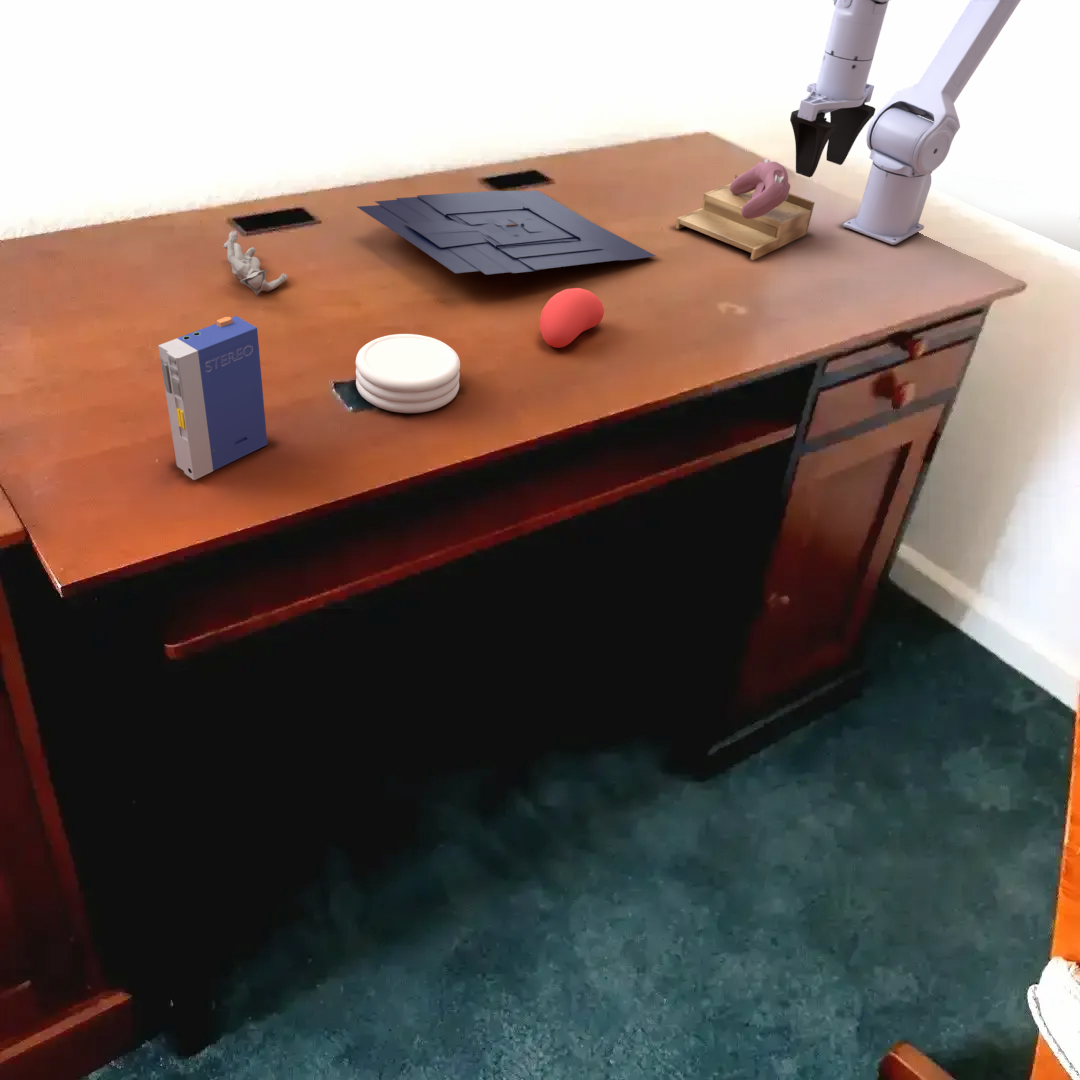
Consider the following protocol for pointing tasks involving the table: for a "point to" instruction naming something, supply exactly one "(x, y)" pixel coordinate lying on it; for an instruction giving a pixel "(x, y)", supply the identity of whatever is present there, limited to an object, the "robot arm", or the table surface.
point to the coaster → (407, 373)
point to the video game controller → (762, 188)
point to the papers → (500, 231)
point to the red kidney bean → (569, 316)
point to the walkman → (214, 395)
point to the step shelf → (749, 221)
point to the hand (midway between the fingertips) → (819, 168)
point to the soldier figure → (249, 267)
